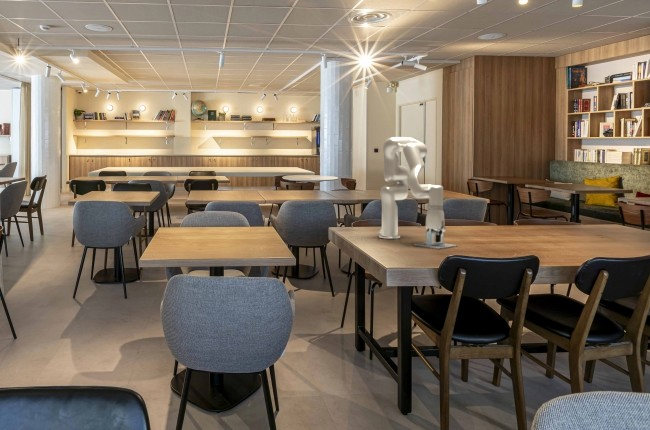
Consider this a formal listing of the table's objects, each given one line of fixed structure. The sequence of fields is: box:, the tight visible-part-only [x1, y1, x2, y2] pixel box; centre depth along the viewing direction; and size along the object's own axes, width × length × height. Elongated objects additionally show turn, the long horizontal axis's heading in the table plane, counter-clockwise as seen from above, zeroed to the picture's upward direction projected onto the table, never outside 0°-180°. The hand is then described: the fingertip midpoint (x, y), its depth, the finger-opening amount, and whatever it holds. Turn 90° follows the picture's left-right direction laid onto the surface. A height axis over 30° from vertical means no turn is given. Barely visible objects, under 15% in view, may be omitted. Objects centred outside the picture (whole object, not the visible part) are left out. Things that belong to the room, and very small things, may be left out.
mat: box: [412, 242, 458, 250], centre depth 345 cm, size 18×16×1 cm
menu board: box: [425, 231, 445, 246], centre depth 344 cm, size 3×11×8 cm, turn 129°
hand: (435, 241), depth 344 cm, fingers open, 3 cm apart
